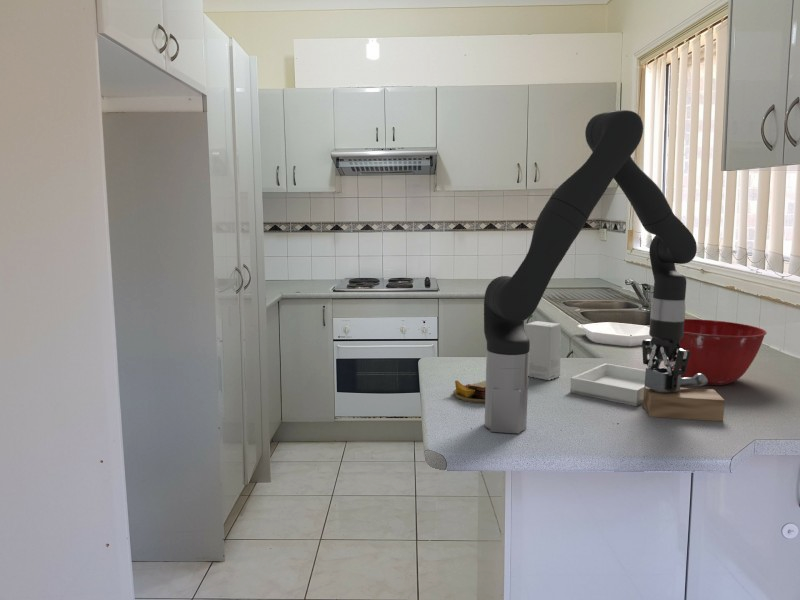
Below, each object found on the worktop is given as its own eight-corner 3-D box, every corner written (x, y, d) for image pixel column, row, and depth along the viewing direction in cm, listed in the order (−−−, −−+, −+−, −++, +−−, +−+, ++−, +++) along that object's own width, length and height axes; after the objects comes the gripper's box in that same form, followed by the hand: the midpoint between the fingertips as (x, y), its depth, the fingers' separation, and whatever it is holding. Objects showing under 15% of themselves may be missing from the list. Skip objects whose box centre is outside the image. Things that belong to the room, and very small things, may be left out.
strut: (714, 387, 159) (716, 370, 158) (660, 392, 154) (661, 373, 153) (697, 381, 164) (699, 364, 163) (644, 386, 159) (645, 368, 159)
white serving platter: (567, 341, 240) (568, 329, 240) (586, 330, 261) (587, 319, 261) (655, 351, 225) (656, 338, 224) (668, 339, 246) (669, 327, 245)
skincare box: (560, 377, 188) (563, 323, 186) (548, 381, 184) (551, 326, 181) (535, 372, 194) (537, 320, 192) (522, 376, 189) (524, 322, 187)
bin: (636, 406, 162) (637, 390, 161) (570, 392, 173) (570, 377, 172) (666, 388, 178) (667, 373, 177) (604, 376, 189) (605, 363, 189)
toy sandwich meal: (484, 388, 177) (484, 371, 176) (514, 401, 165) (515, 383, 165) (444, 393, 172) (444, 376, 171) (472, 408, 160) (473, 389, 159)
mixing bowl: (657, 362, 207) (661, 314, 205) (760, 374, 194) (765, 323, 192) (645, 383, 182) (649, 329, 180) (762, 398, 169) (768, 339, 167)
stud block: (723, 421, 151) (725, 387, 150) (649, 416, 154) (652, 382, 153) (712, 409, 160) (714, 377, 159) (643, 405, 163) (645, 373, 161)
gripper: (703, 322, 149) (696, 394, 152) (659, 312, 163) (654, 378, 165) (675, 323, 147) (670, 396, 149) (634, 313, 161) (629, 380, 163)
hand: (661, 386), depth 157 cm, fingers closed on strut, 5 cm apart
